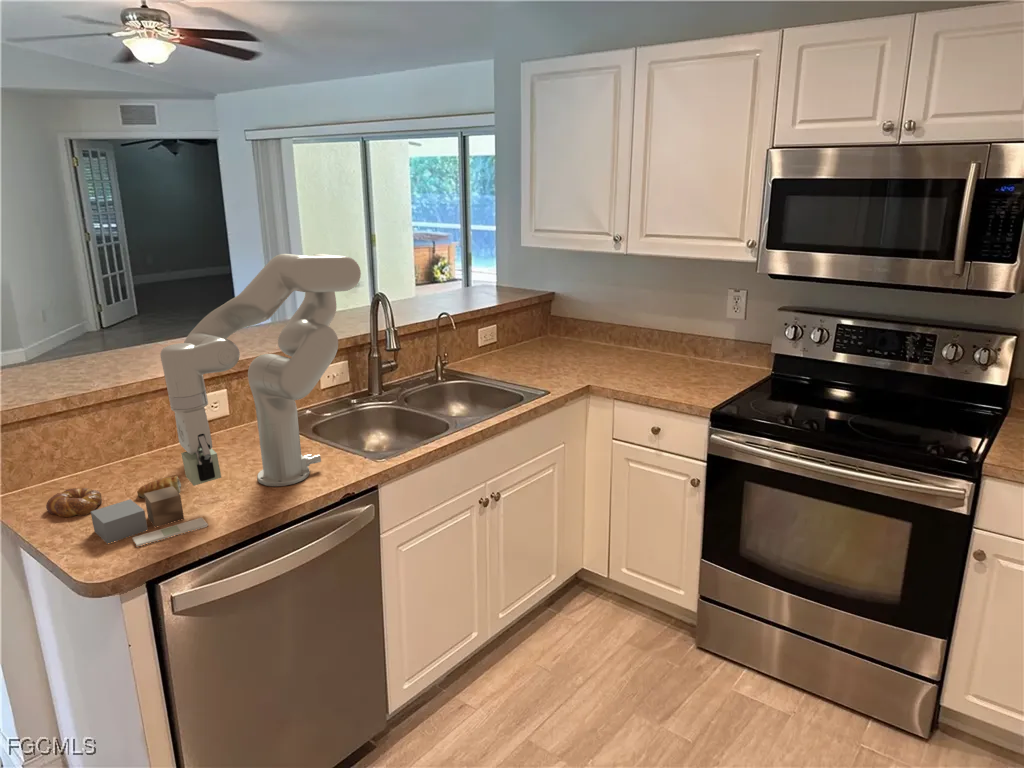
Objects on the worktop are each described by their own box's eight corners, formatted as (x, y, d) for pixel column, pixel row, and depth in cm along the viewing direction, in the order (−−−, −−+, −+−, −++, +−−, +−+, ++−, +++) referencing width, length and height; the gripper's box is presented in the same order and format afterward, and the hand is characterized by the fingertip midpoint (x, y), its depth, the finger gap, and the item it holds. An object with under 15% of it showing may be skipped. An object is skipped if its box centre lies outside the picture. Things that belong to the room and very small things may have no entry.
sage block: (213, 469, 165) (208, 445, 163) (221, 477, 160) (216, 453, 158) (186, 477, 161) (181, 452, 159) (193, 485, 157) (188, 461, 155)
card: (202, 519, 156) (201, 517, 156) (207, 526, 153) (207, 523, 153) (132, 540, 148) (132, 537, 148) (137, 547, 145) (136, 544, 145)
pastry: (137, 503, 165) (135, 488, 164) (139, 492, 171) (136, 477, 170) (181, 495, 169) (179, 481, 168) (181, 485, 175) (179, 471, 173)
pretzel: (112, 507, 163) (110, 493, 162) (60, 524, 155) (56, 509, 154) (92, 493, 171) (89, 479, 169) (41, 509, 163) (38, 494, 162)
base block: (134, 519, 157) (130, 499, 156) (148, 531, 152) (144, 510, 150) (94, 532, 152) (90, 511, 150) (107, 545, 146) (103, 523, 145)
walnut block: (176, 510, 161) (172, 486, 159) (184, 519, 157) (180, 494, 155) (148, 518, 157) (143, 493, 156) (155, 528, 153) (150, 502, 151)
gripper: (160, 394, 159) (175, 467, 165) (181, 414, 146) (197, 492, 152) (194, 386, 163) (208, 458, 169) (218, 405, 150) (232, 481, 156)
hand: (203, 473), depth 160 cm, fingers closed on sage block, 6 cm apart
